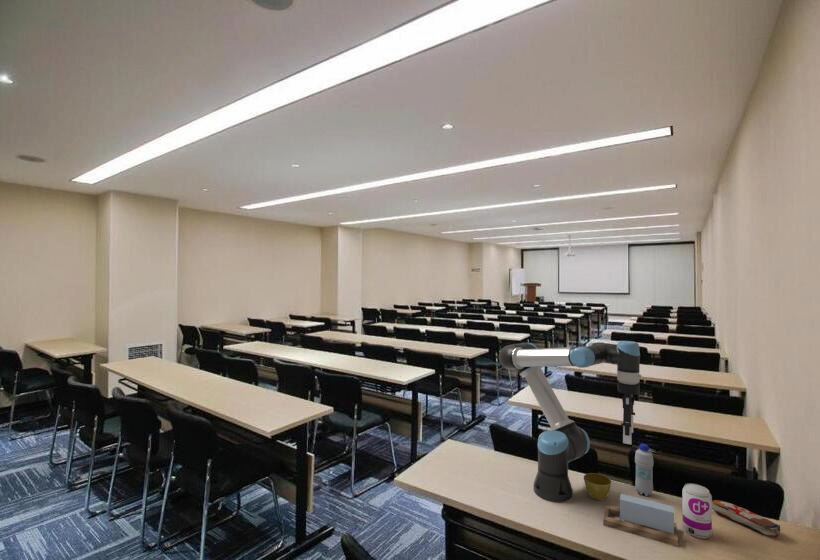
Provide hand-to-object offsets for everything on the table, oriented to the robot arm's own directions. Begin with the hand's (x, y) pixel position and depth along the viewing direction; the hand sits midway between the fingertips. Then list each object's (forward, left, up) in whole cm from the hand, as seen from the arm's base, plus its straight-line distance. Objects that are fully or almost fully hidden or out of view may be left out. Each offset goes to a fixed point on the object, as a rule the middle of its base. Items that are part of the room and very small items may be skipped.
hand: (628, 437), depth 152 cm
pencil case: (+36, +11, -27) cm, 46 cm away
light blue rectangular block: (+6, -12, -27) cm, 30 cm away
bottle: (+5, +15, -27) cm, 31 cm away
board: (+4, -12, -27) cm, 30 cm away
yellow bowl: (-11, +2, -27) cm, 29 cm away
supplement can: (+21, -5, -27) cm, 34 cm away
